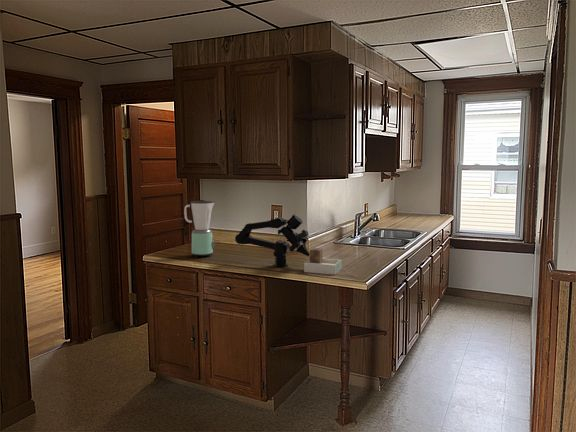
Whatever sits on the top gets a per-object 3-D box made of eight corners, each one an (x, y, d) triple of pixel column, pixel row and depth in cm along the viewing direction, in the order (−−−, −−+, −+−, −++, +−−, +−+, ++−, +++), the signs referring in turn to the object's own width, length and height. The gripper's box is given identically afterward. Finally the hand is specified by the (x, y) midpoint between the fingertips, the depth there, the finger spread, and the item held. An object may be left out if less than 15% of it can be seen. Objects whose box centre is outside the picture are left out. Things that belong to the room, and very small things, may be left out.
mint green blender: (215, 253, 312) (214, 199, 308) (216, 257, 299) (215, 201, 295) (185, 254, 309) (184, 199, 305) (185, 258, 296) (183, 201, 292)
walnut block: (309, 264, 268) (309, 249, 267) (312, 261, 274) (312, 247, 273) (319, 264, 266) (319, 250, 265) (322, 262, 272) (322, 248, 271)
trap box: (304, 271, 262) (304, 262, 262) (311, 266, 276) (311, 257, 276) (335, 274, 257) (335, 265, 256) (341, 268, 271) (341, 259, 270)
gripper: (294, 227, 262) (314, 249, 259) (304, 223, 279) (323, 243, 277) (281, 241, 265) (300, 262, 263) (291, 236, 283) (309, 255, 280)
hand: (309, 255), depth 271 cm, fingers closed
